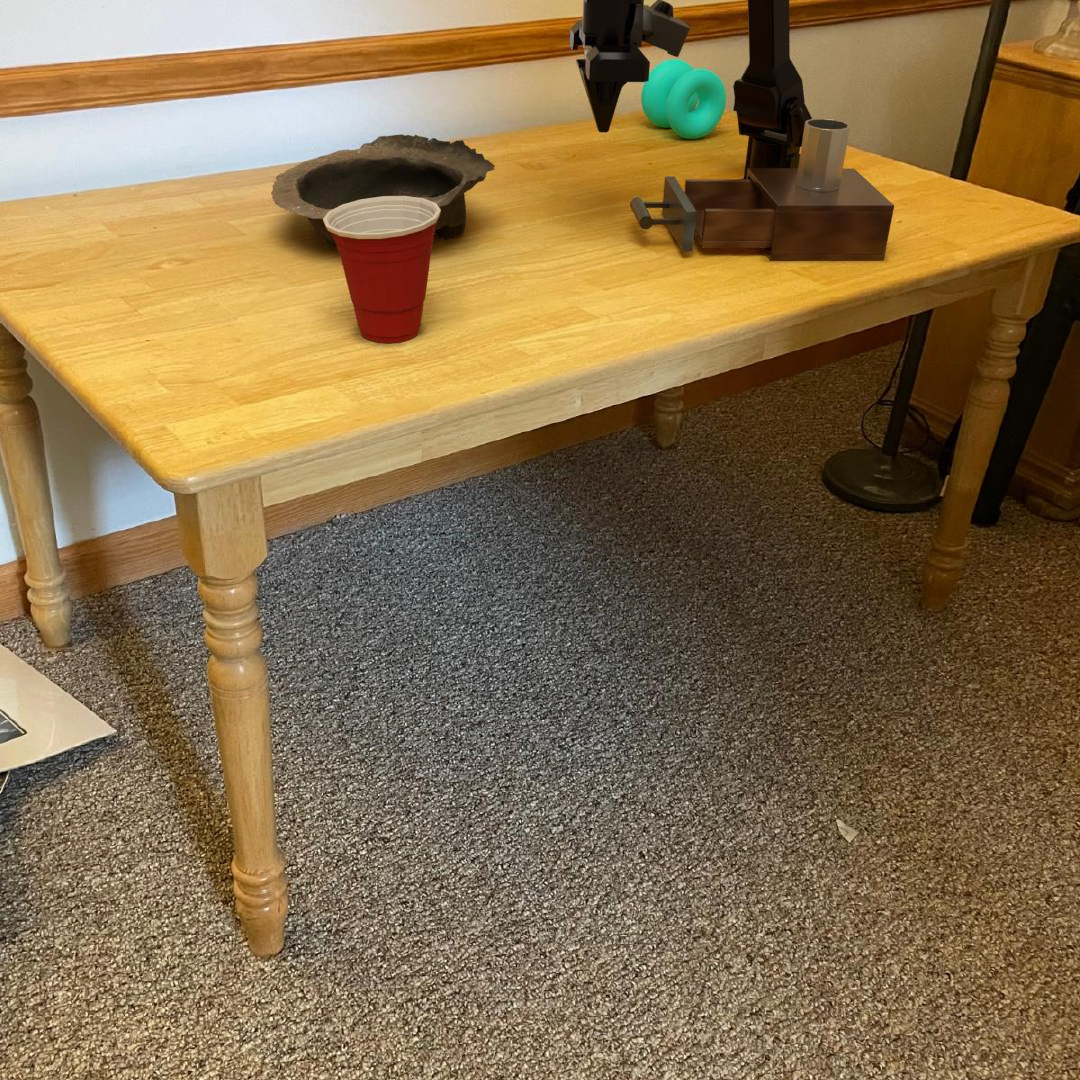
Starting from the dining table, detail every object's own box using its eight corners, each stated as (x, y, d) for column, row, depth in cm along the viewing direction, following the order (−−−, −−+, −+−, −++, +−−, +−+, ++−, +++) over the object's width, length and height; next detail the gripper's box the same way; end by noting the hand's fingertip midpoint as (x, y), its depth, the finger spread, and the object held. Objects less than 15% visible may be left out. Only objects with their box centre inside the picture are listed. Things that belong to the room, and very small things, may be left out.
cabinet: (770, 260, 135) (778, 205, 131) (740, 219, 147) (747, 167, 143) (883, 260, 136) (894, 205, 132) (845, 219, 148) (854, 168, 144)
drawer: (642, 252, 133) (645, 211, 131) (624, 214, 144) (627, 176, 142) (788, 251, 135) (794, 211, 132) (760, 214, 146) (765, 176, 143)
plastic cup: (334, 310, 119) (326, 191, 112) (442, 309, 120) (439, 191, 113) (327, 355, 110) (317, 229, 103) (443, 354, 111) (441, 229, 104)
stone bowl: (523, 218, 143) (524, 142, 138) (422, 301, 125) (418, 218, 120) (350, 184, 152) (343, 111, 146) (231, 258, 134) (219, 178, 128)
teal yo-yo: (670, 144, 175) (676, 73, 169) (635, 128, 182) (640, 59, 177) (725, 137, 179) (733, 68, 173) (689, 122, 186) (695, 55, 181)
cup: (787, 184, 138) (796, 123, 134) (811, 176, 141) (821, 116, 137) (824, 194, 135) (834, 132, 131) (847, 186, 138) (858, 125, 134)
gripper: (705, -5, 116) (690, 155, 125) (671, -33, 132) (659, 111, 140) (594, -7, 115) (586, 155, 124) (572, -35, 131) (566, 110, 139)
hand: (603, 131), depth 132 cm, fingers closed
